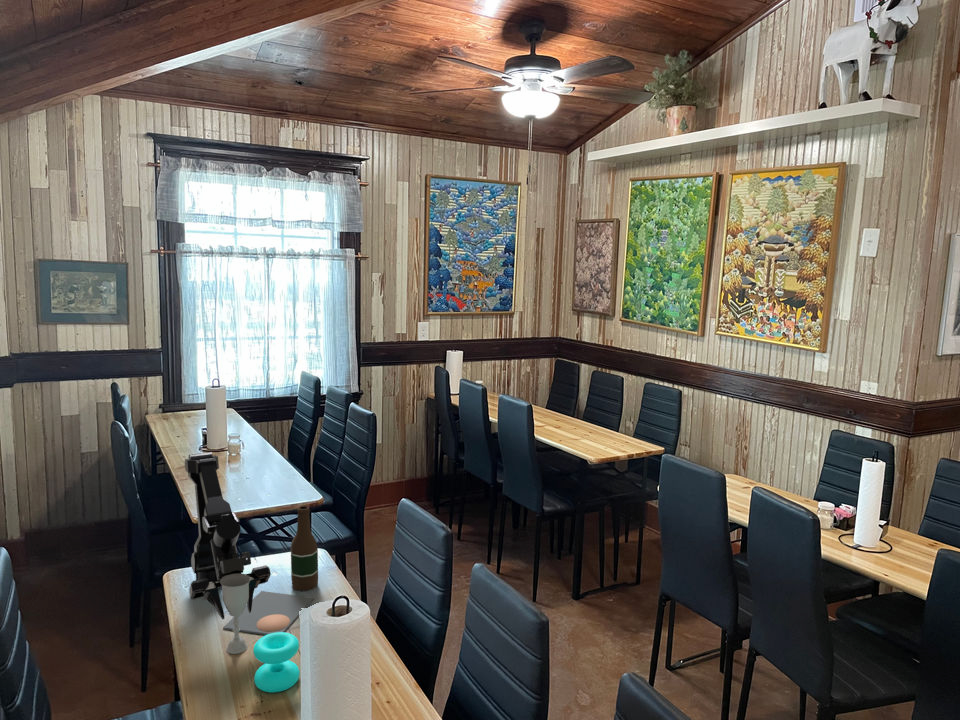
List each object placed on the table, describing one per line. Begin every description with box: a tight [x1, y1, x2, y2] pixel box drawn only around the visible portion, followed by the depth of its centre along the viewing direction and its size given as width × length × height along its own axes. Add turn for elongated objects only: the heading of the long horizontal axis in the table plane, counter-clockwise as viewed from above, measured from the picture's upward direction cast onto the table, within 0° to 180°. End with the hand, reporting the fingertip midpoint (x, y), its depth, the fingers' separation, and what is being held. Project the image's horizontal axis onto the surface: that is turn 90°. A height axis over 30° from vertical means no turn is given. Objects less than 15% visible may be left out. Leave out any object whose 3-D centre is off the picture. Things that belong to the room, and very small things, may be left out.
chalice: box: [220, 573, 251, 655], centre depth 174 cm, size 7×7×18 cm
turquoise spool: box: [253, 631, 300, 693], centre depth 161 cm, size 10×10×10 cm
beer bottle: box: [290, 505, 319, 592], centre depth 206 cm, size 8×8×24 cm
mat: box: [222, 590, 315, 636], centre depth 191 cm, size 16×20×1 cm
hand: (236, 615), depth 172 cm, fingers closed on chalice, 6 cm apart
